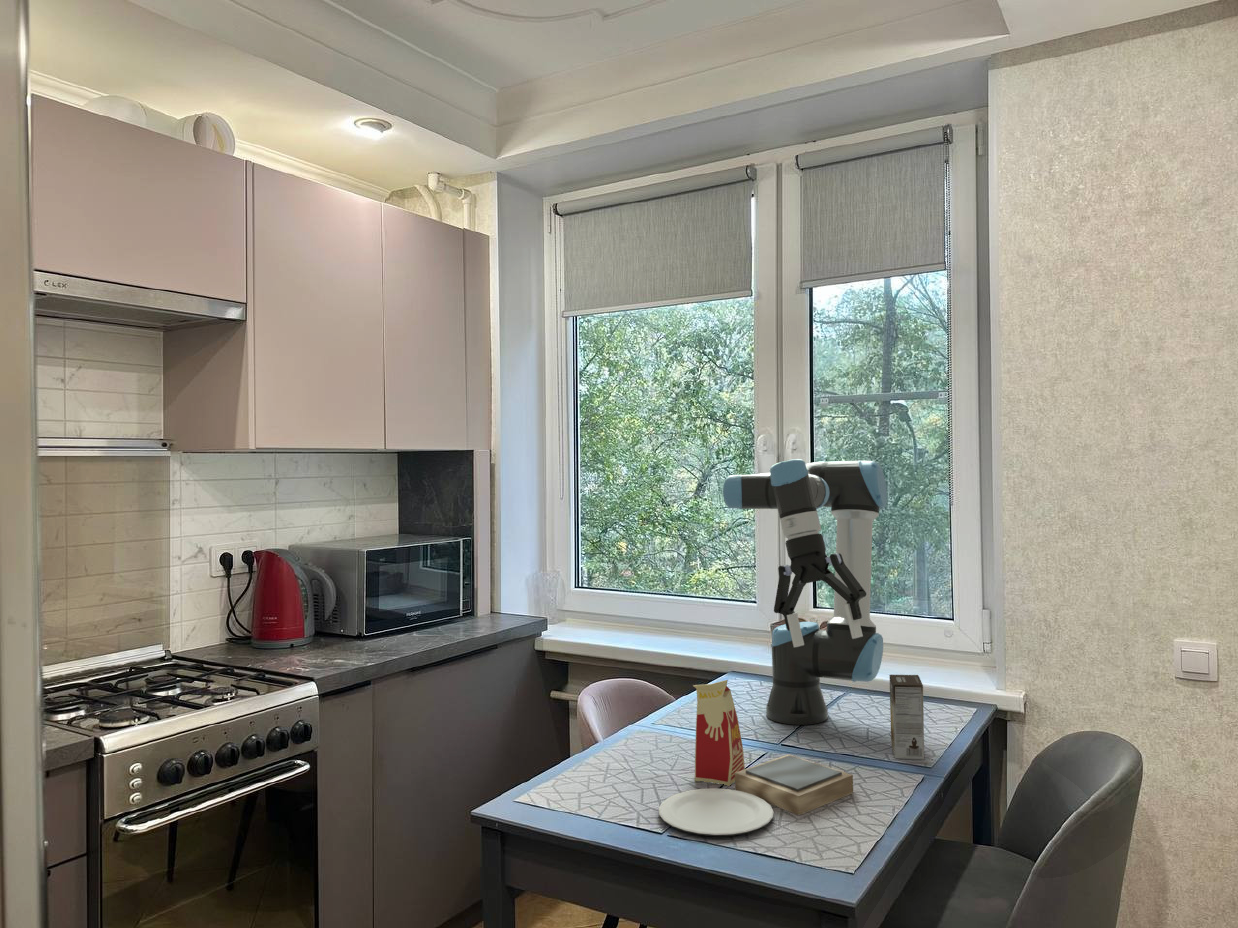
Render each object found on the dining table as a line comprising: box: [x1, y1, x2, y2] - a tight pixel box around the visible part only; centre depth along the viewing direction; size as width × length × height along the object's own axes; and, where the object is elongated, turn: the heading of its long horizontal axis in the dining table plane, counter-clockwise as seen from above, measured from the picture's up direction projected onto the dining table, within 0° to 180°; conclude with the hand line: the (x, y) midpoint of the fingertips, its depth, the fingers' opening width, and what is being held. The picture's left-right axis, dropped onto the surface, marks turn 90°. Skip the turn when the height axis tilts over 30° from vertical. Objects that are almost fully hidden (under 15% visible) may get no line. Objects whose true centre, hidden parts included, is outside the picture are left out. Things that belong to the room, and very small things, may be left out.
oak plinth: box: [734, 754, 854, 816], centre depth 170 cm, size 16×16×4 cm
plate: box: [658, 787, 775, 837], centre depth 159 cm, size 21×21×2 cm
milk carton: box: [692, 679, 746, 787], centre depth 179 cm, size 9×9×20 cm
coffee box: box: [889, 674, 925, 760], centre depth 191 cm, size 9×6×16 cm
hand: (827, 642), depth 171 cm, fingers open, 13 cm apart
